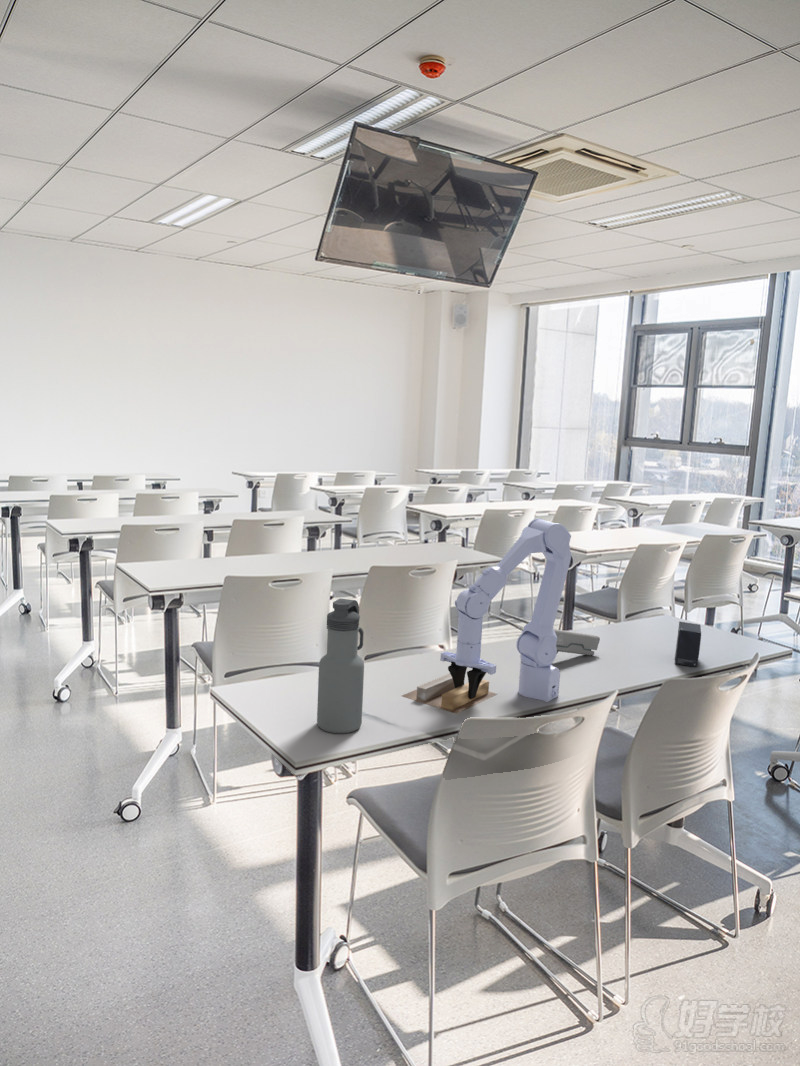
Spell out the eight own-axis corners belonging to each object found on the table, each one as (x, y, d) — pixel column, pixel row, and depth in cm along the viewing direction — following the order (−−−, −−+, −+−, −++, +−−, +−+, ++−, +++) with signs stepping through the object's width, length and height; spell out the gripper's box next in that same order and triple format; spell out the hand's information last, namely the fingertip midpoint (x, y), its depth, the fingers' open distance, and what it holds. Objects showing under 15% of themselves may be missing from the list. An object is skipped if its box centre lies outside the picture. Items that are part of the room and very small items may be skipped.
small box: (698, 668, 232) (702, 632, 230) (674, 664, 234) (678, 629, 232) (697, 657, 242) (701, 623, 240) (674, 654, 244) (678, 620, 242)
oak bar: (478, 689, 201) (478, 678, 201) (488, 692, 200) (489, 681, 199) (441, 706, 189) (441, 694, 188) (451, 710, 187) (452, 697, 187)
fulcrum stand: (497, 697, 199) (498, 682, 199) (456, 717, 185) (457, 700, 185) (443, 682, 209) (444, 667, 208) (401, 699, 195) (401, 683, 194)
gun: (528, 661, 226) (537, 626, 226) (587, 667, 241) (595, 635, 241) (535, 663, 224) (543, 628, 224) (593, 670, 239) (601, 637, 239)
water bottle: (327, 713, 184) (331, 593, 179) (368, 720, 181) (373, 598, 177) (309, 730, 174) (314, 603, 170) (352, 737, 171) (357, 608, 167)
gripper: (434, 637, 193) (431, 692, 195) (486, 651, 185) (482, 708, 187) (451, 632, 199) (447, 685, 201) (502, 645, 190) (498, 700, 192)
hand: (465, 695), depth 194 cm, fingers closed on oak bar, 3 cm apart
